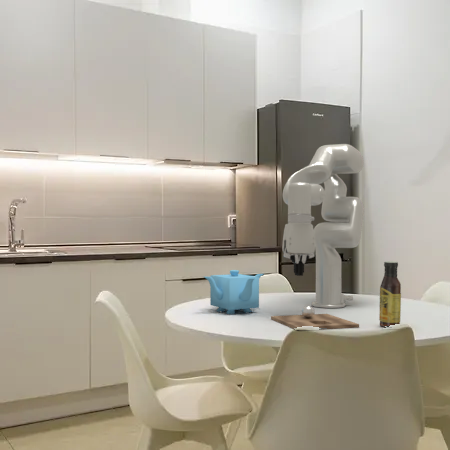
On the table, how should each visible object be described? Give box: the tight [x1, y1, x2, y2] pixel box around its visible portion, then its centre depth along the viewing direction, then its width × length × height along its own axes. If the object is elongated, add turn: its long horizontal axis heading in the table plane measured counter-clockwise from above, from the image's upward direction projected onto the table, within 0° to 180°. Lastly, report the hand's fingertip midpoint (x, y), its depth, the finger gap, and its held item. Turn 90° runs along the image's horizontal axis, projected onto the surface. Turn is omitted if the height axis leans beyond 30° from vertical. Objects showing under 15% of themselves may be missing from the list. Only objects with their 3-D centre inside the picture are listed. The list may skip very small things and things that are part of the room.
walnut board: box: [270, 313, 360, 330], centre depth 195 cm, size 20×22×1 cm
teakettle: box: [203, 269, 265, 315], centre depth 220 cm, size 19×19×15 cm
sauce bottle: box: [378, 260, 402, 328], centre depth 189 cm, size 6×6×20 cm
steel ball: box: [301, 305, 315, 318], centre depth 199 cm, size 4×4×4 cm
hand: (298, 275), depth 205 cm, fingers closed
